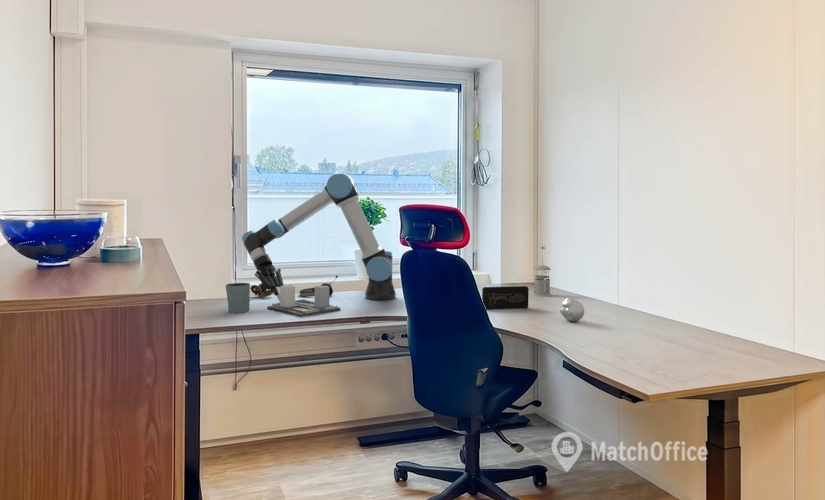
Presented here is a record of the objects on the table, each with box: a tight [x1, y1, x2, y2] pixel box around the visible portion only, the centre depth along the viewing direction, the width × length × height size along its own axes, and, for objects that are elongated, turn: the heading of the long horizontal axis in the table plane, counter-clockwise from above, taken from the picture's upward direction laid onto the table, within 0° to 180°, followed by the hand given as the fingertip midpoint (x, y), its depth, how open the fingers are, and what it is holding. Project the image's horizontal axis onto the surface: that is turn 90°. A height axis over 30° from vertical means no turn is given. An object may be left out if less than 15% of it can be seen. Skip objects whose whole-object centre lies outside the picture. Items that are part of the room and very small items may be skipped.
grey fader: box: [314, 285, 330, 308], centre depth 262 cm, size 4×5×9 cm
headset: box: [298, 275, 339, 298], centre depth 302 cm, size 14×10×20 cm
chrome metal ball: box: [560, 296, 585, 323], centre depth 238 cm, size 9×10×10 cm
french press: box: [532, 245, 552, 298], centre depth 305 cm, size 10×12×25 cm
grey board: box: [266, 298, 341, 318], centre depth 262 cm, size 25×21×2 cm
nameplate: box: [481, 285, 530, 311], centre depth 266 cm, size 21×2×10 cm, turn 100°
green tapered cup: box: [225, 282, 251, 314], centre depth 257 cm, size 10×10×12 cm
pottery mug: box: [250, 282, 274, 299], centre depth 296 cm, size 12×10×8 cm
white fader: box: [279, 284, 296, 307], centre depth 262 cm, size 4×5×9 cm
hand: (282, 300), depth 264 cm, fingers closed
